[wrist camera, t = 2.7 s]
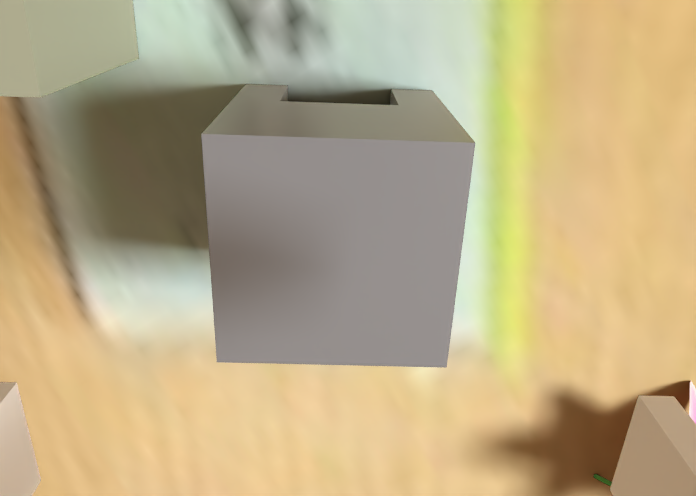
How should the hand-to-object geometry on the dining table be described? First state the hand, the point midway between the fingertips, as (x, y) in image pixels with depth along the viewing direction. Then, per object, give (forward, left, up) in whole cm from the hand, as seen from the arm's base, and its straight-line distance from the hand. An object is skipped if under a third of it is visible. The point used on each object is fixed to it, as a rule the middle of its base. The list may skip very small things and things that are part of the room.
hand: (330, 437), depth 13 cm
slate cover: (0, 0, -19) cm, 19 cm away
